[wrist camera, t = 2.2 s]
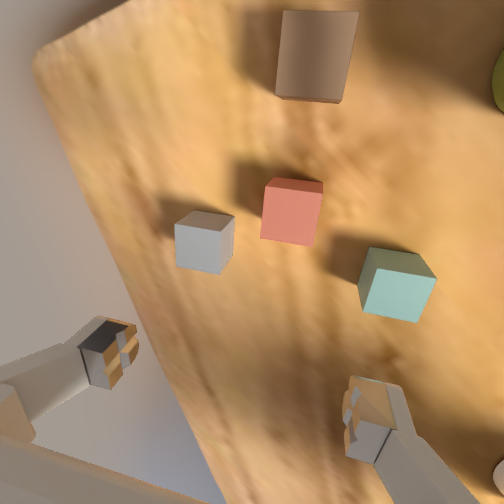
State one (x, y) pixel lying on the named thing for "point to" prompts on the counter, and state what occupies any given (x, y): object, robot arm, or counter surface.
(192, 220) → the slate grey block
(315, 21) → the walnut block
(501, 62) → the plant pot
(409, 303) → the muted teal block
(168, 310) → the counter surface
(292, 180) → the brick-red block
